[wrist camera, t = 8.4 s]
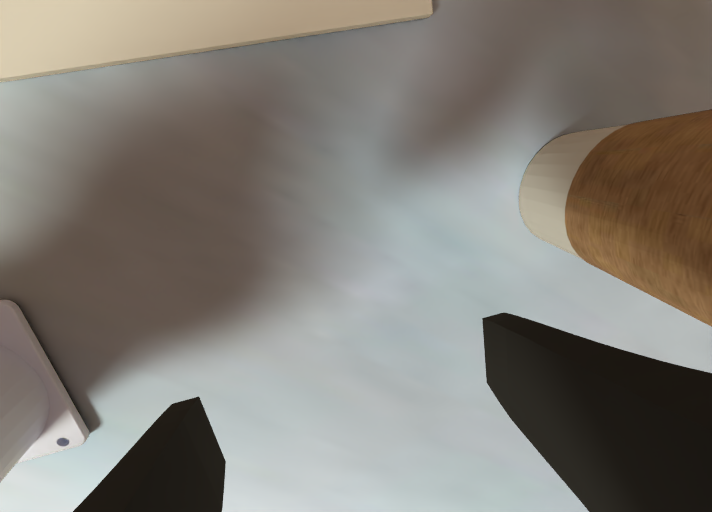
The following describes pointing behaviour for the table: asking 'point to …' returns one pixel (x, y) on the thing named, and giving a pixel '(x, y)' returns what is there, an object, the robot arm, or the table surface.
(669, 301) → the coffee cup
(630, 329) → the table surface
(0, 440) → the robot arm
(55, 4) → the mat
